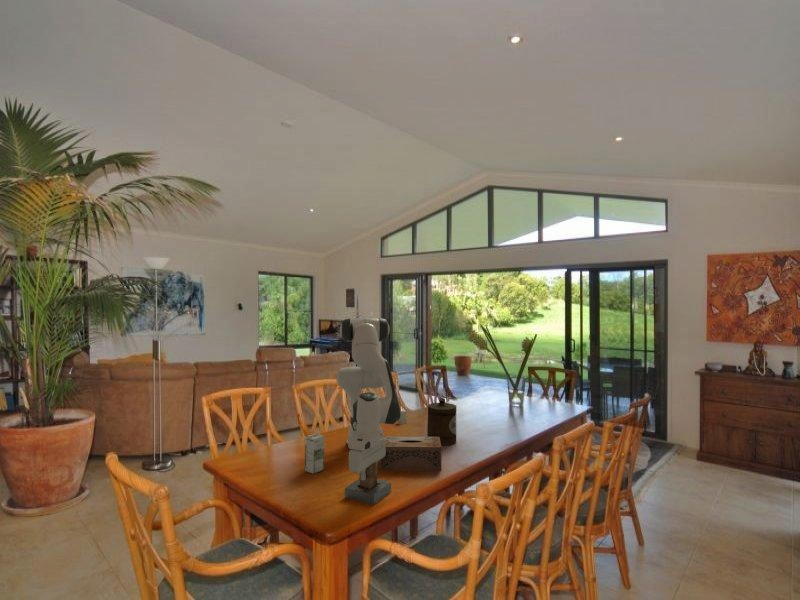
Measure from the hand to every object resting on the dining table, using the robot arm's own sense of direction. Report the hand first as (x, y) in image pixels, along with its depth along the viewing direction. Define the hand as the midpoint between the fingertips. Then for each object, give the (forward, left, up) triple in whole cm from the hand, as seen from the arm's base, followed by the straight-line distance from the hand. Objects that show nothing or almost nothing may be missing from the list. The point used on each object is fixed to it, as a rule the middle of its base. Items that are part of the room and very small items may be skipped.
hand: (368, 476), depth 157 cm
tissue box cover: (-35, 0, -7) cm, 36 cm away
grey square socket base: (0, 0, -7) cm, 7 cm away
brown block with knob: (0, 0, -3) cm, 3 cm away
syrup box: (-9, -32, -7) cm, 34 cm away
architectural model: (-92, -34, -7) cm, 98 cm away
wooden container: (-71, 0, -7) cm, 71 cm away
